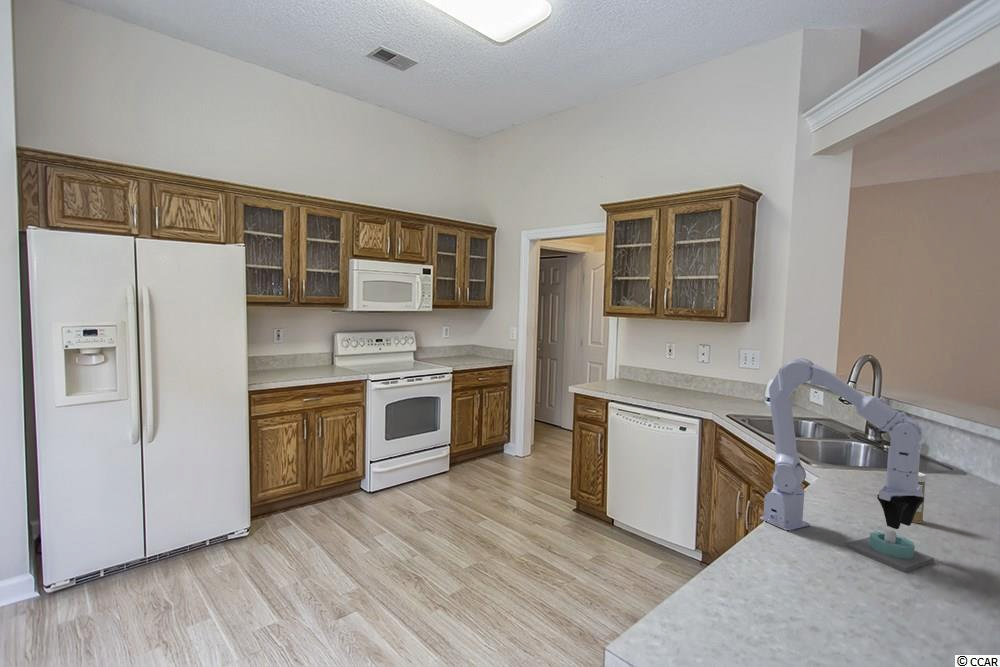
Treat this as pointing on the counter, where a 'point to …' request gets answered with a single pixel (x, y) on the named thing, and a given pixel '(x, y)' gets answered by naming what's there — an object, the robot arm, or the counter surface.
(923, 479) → the sprinkles bottle
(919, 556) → the pin board
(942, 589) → the counter surface
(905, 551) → the ring
